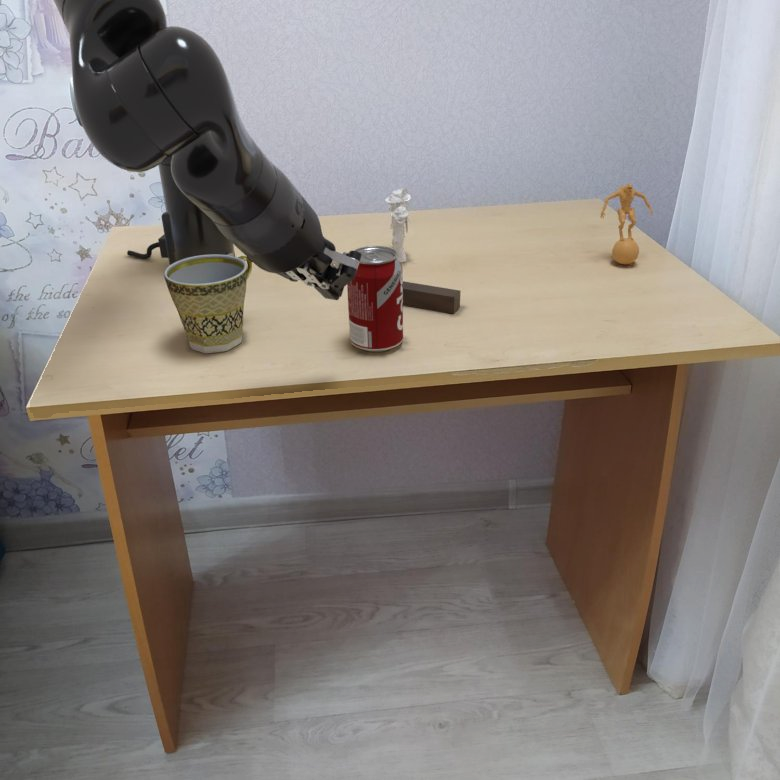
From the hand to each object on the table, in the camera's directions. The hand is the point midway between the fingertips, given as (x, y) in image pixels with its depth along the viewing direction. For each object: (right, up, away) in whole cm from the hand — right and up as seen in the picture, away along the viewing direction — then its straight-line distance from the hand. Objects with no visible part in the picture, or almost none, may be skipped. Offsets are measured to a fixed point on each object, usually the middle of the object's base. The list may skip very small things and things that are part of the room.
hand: (335, 291), depth 85 cm
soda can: (+4, -5, +13) cm, 15 cm away
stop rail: (+10, +1, +24) cm, 26 cm away
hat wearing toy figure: (+7, +10, +39) cm, 41 cm away
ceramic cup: (-16, -4, +16) cm, 22 cm away
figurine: (+42, +9, +36) cm, 57 cm away
